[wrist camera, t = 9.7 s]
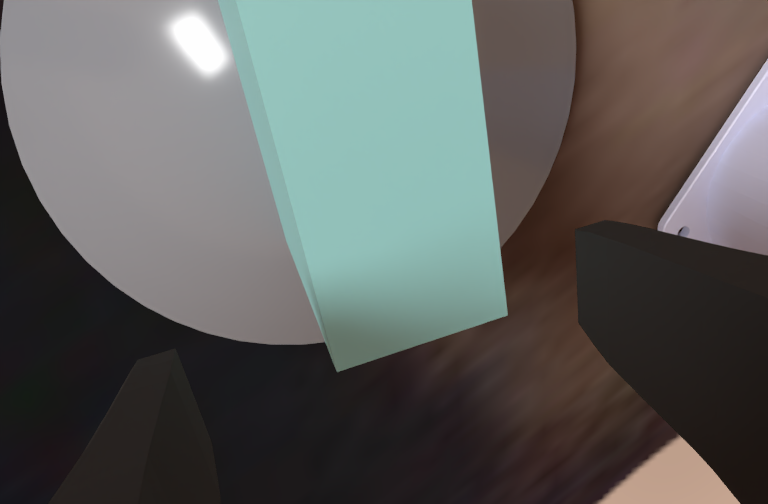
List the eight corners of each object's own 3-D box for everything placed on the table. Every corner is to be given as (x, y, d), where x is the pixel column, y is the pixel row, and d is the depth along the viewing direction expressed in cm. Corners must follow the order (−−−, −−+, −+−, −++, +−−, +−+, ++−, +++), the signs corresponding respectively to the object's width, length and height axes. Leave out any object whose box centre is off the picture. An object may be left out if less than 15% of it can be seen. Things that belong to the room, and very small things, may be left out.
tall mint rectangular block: (206, -41, 17) (229, -24, 11) (359, -74, 17) (463, -76, 11) (286, 241, 21) (336, 372, 14) (409, 204, 21) (507, 315, 15)
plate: (647, -27, 22) (671, -24, 20) (406, 376, 26) (416, 396, 25) (150, -407, 15) (149, -432, 14) (-72, 228, 19) (-86, 245, 18)
